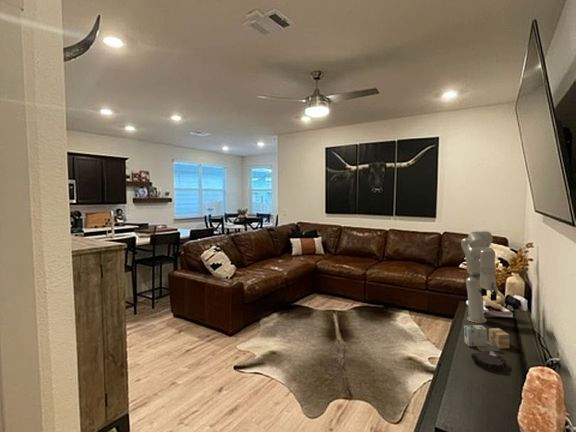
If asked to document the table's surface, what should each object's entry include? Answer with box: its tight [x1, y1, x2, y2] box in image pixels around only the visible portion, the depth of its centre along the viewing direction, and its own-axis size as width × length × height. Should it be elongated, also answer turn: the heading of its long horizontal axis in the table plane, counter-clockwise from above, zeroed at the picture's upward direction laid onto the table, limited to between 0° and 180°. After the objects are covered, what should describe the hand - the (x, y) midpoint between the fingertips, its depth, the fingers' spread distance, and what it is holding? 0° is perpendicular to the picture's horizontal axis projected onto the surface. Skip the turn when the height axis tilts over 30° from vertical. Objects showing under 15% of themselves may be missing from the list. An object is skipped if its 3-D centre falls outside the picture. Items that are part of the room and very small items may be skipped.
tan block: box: [488, 327, 511, 349], centre depth 194 cm, size 10×6×8 cm, turn 178°
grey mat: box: [476, 340, 501, 352], centre depth 194 cm, size 14×11×1 cm
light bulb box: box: [463, 324, 488, 347], centre depth 196 cm, size 11×7×11 cm
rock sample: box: [470, 350, 507, 373], centre depth 173 cm, size 18×16×5 cm
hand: (488, 298), depth 195 cm, fingers open, 9 cm apart
